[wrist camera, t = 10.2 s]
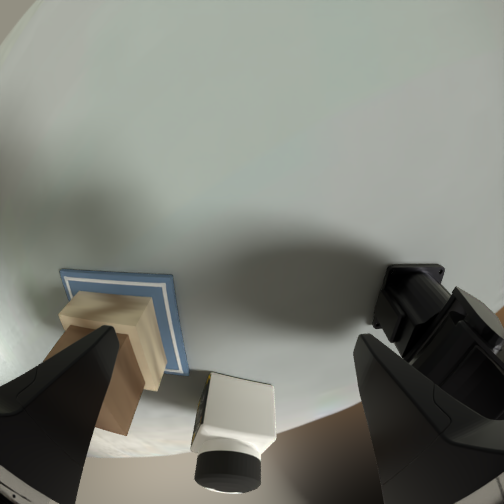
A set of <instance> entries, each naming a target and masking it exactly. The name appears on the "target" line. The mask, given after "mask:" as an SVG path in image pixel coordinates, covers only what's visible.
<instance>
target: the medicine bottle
mask: <svg viewBox="0 0 504 504" xmlns="http://www.w3.org/2000/svg"><path fill="white" fill-rule="evenodd" d="M275 439H276V419H275V397H274V387H273V386H272V385H268V384H263V383H258V382H253V381H248V380H243V379H239V378H234V377H230V376H226V375H222V374H218V373H214V372H212V373H210V374H209V376H208V379H207V382H206V385H205V387H204V390H203V393H202V396H201V398H200V401H199V404H198V409H197V414H196V420H195V425H194V431H193V436H192V442H191V448H190V449H191V451H192V452H194V453H198V458H197V465H196V471H195V481H196V482H197V483H198V484H199V485H201V486H202V487H204V488H206V489H208V490H212V491H215V492H220V493H231V494H237V493H245V492H249V491H252V490H255V489H257V488H258V487H259V486H260V484H261V454H262V453H263V452H264V451H265V450H266V449H267V448H268V447H269V446H270V445H271V444H272V443H273V442H274V441H275Z"/></svg>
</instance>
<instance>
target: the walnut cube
mask: <svg viewBox="0 0 504 504" xmlns="http://www.w3.org/2000/svg"><path fill="white" fill-rule="evenodd" d="M94 330H96V329H90V328H84V327H79V326H74V325H70V326H69V327H68V328H67V330H66V331H65V332H64V334H63V335H62V336H61V338H60V339H59V340H58V342H57V343H56V344H55V346H54V347H53V348H52V350H51V351H50V352H49V354H48V355H47V357H46V358H45V359H44V361H45V360H47V359H49V358H50V357H52V356H53V355H55V354H57V353H58V352H60V351H62V350H63V349H65V348H66V347H68V346H70V345H71V344H73V343H74V342H76V341H78V340H79V339H81V338H83V337H84V336H86V335H88V334H89V333H91V332H92V331H94ZM116 334H117V337H118V340H119V344H120V346H119V351H118V355H117V358H116V362H115V366H114V370H113V374H112V378H111V381H110V384H109V387H108V390H107V392H106V395H105V398H104V401H103V404H102V407H101V410H100V413H99V416H98V419H97V422H96V425H95V427H97V428H100V429H103V430H107V431H110V432H113V433H117V434H121V435H124V436H127V434H128V431H129V428H130V425H131V422H132V419H133V417H134V414H135V411H136V408H137V405H138V402H139V400H140V397H141V394H142V391H143V389H144V386H145V380H144V378H143V375H142V373H141V370H140V367H139V365H138V362H137V359H136V356H135V353H134V351H133V348H132V345H131V342H130V339H129V335H128V334H121V333H116ZM44 361H43V362H44Z"/></svg>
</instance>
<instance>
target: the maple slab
mask: <svg viewBox="0 0 504 504" xmlns="http://www.w3.org/2000/svg"><path fill="white" fill-rule="evenodd" d="M58 315H59V318H60V320H61V323H62V325H63V328H64V330H65V331H66V330H67V328H68V327H69V326H70V325H74V326H79V327H84V328H90V329H97V328H99V327H101V326H102V325H110V326H113V327H114V329H115V331H116V333H121V334H128V335H129V339H130V342H131V345H132V348H133V351H134V353H135V356H136V359H137V362H138V365H139V367H140V370H141V373H142V375H143V378H144V380H145V386H144V389H146V390H152V391H158V388H159V385H160V382H161V379H162V376H163V373H164V370H165V367H166V364H167V359H166V355H165V351H164V348H163V344H162V340H161V336H160V332H159V327H158V323H157V319H156V314H155V310H154V305H153V300H152V297H141V296H129V295H117V294H106V293H96V292H86V291H79V292H78V293H77V294H76V295H75V296H74V297H73V298H72V299H71V300H70V301H69V303H68V304H67V305H66V306H65V307H64V308H63V309H62V311H61V312H60V313H59V314H58Z"/></svg>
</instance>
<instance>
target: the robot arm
mask: <svg viewBox="0 0 504 504" xmlns="http://www.w3.org/2000/svg"><path fill="white" fill-rule="evenodd" d="M393 270H394V272H393V273H391V271H393ZM439 271H440V272H439ZM444 272H445V269H444V267H443V266H441V265H392V266H389V267H388V268H387V271H386V275H385V279H384V283H383V287H382V289H381V291H380V294H379V297H378V301H377V305H376V308H375V312H374V314H375V315H374V319H373V322H372V325H373V327H374V328H375V329H383V331H384V333H385V334H386V336H387V338H388V340H389V341H390V343H394V344H395V346H396V347H397V349H398V351H399V353H400V355H401V357H402V358H403V359H402V358H401V357H400V356H399V355H397V354H396V353H395V352H393V351H392V350H391V349H390V348H388V347H387V346H386V345H384V344H383V343H382V342H381V341H379V340H378V339H377V338H375V337H374V336H373V335H371V334H360V335H359V336H358V339H357V342H356V345H355V348H354V352H353V356H354V362H355V368H356V375H357V381H358V387H359V393H360V397H361V400H362V404H363V408H364V412H365V415H366V419H367V423H368V427H369V431H370V436H371V440H372V444H373V448H374V452H375V457H376V462H377V466H378V472H379V476H380V482H381V485H382V493H383V498H384V504H504V329H503V327H502V325H501V323H500V321H499V319H498V317H497V316H496V315H495V314H494V313H493V312H492V311H491V310H490V309H489V308H488V307H487V306H486V305H485V304H484V303H483V302H481V301H480V300H478V299H477V298H475V297H473V296H472V295H470V294H468V293H467V292H465V291H463V290H462V289H460V288H458V287H457V286H456V287H455V288H454V290H453V291H452V295H451V294H450V293H449V292H448V291H447V290H446V289H445V288H444V287H443V286H442V285H441V281H442V278H443V275H444ZM377 323H378V324H377ZM119 346H120V344H119V340H118V337H117V334H116V331H115V329H114V327H113V326H110V325H102V326H101V327H99V328H97V329H96V330H94V331H92V332H91V333H89V334H88V335H86V336H84V337H83V338H81V339H79V340H78V341H76V342H74V343H73V344H71V345H70V346H68V347H66V348H65V349H63V350H62V351H60V352H58V353H57V354H55V355H53V356H52V357H50V358H49V359H47V360H45V361H44V362H42V363H41V364H39V365H38V366H36V367H34V368H33V369H31V370H29V371H28V372H26V373H24V374H23V375H21V376H19V377H17V378H16V379H14V380H12V381H10V382H8V383H6V384H4V385H2V386H0V504H49V501H50V499H52V500H54V501H55V502H57V503H59V504H75V501H76V496H77V492H78V487H79V483H80V479H81V475H82V471H83V466H84V463H85V459H86V455H87V452H88V448H89V445H90V441H91V438H92V435H93V431H94V428H95V425H96V422H97V419H98V416H99V413H100V410H101V407H102V404H103V401H104V398H105V395H106V392H107V390H108V387H109V384H110V381H111V378H112V374H113V370H114V366H115V362H116V358H117V355H118V351H119Z"/></svg>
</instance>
